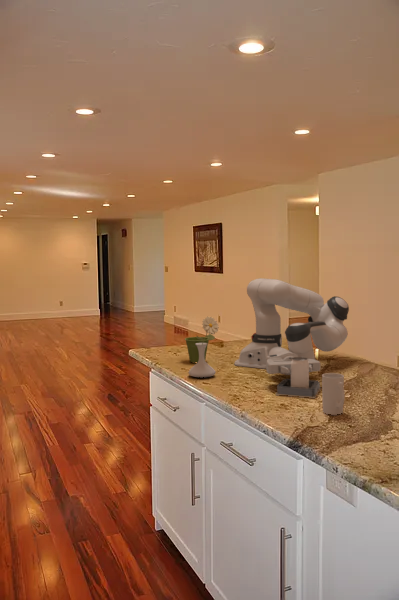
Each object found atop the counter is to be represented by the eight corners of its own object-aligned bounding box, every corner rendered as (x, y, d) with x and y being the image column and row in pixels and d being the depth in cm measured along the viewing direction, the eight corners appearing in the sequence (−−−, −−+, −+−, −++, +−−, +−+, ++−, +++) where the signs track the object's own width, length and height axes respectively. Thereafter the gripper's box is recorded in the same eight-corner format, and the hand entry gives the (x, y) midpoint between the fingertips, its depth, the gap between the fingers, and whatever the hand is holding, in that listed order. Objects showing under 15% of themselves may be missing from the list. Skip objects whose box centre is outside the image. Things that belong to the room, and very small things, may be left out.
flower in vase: (192, 380, 218) (191, 319, 216) (185, 374, 229) (184, 316, 227) (223, 378, 222) (222, 317, 220) (214, 372, 233) (214, 314, 231)
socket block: (275, 395, 194) (275, 386, 194) (283, 385, 207) (283, 378, 207) (314, 398, 189) (314, 389, 189) (321, 388, 202) (321, 380, 202)
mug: (318, 410, 175) (318, 373, 174) (336, 408, 177) (336, 372, 176) (333, 419, 166) (333, 381, 165) (353, 417, 167) (353, 379, 166)
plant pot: (214, 363, 251) (213, 339, 250) (190, 365, 247) (189, 341, 246) (204, 358, 262) (204, 335, 261) (181, 361, 258) (181, 337, 257)
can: (307, 393, 193) (307, 360, 192) (289, 392, 196) (289, 359, 195) (310, 389, 199) (310, 357, 198) (292, 388, 202) (292, 356, 201)
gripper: (313, 369, 212) (326, 377, 199) (262, 372, 209) (273, 380, 196) (313, 353, 212) (326, 360, 198) (262, 356, 209) (272, 363, 195)
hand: (299, 370), depth 197 cm, fingers open, 7 cm apart
